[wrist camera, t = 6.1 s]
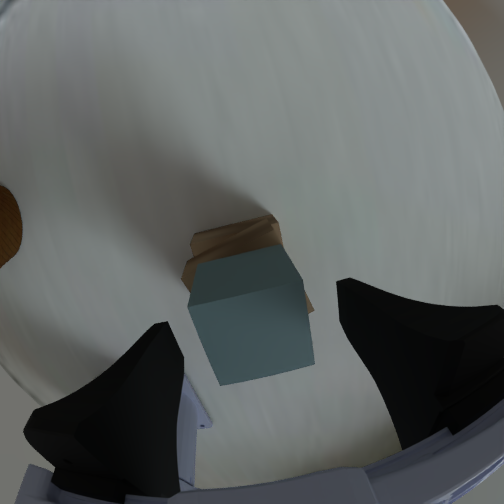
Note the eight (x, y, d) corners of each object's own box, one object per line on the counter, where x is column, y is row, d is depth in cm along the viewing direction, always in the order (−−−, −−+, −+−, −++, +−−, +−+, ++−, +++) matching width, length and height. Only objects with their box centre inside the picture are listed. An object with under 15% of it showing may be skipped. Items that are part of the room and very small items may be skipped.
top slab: (230, 325, 17) (232, 350, 15) (187, 260, 16) (181, 279, 13) (303, 289, 17) (314, 310, 14) (266, 218, 15) (273, 229, 13)
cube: (220, 332, 14) (220, 385, 11) (197, 264, 13) (187, 307, 9) (294, 314, 14) (314, 364, 11) (281, 243, 13) (302, 279, 9)
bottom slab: (215, 300, 19) (214, 319, 17) (194, 232, 18) (190, 244, 15) (285, 283, 19) (293, 300, 17) (271, 213, 18) (278, 222, 15)
